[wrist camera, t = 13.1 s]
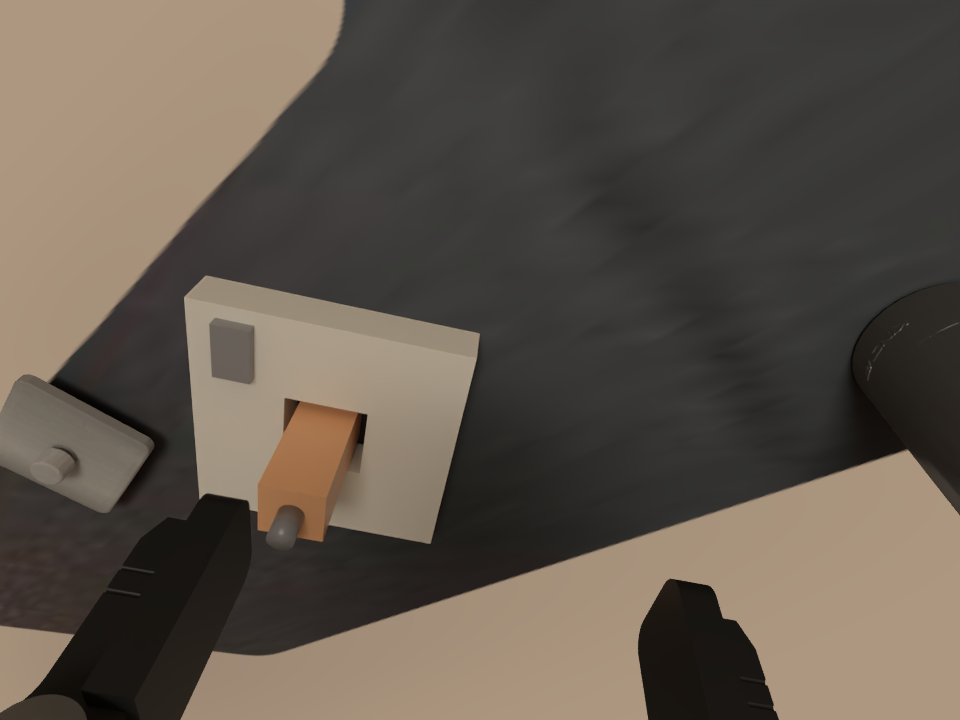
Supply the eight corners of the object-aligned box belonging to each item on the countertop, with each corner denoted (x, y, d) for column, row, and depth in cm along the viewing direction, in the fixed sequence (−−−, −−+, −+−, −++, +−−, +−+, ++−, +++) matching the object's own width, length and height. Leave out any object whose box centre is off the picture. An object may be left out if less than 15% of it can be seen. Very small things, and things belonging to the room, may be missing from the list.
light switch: (170, 425, 46) (135, 471, 42) (125, 492, 51) (89, 540, 46) (42, 354, 43) (-10, 397, 39) (6, 432, 48) (-44, 478, 43)
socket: (479, 333, 40) (475, 365, 37) (435, 514, 50) (429, 552, 46) (206, 275, 39) (177, 303, 35) (216, 472, 48) (195, 508, 45)
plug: (364, 394, 43) (316, 524, 33) (359, 435, 45) (313, 569, 35) (309, 383, 43) (244, 511, 33) (307, 425, 45) (245, 556, 35)
